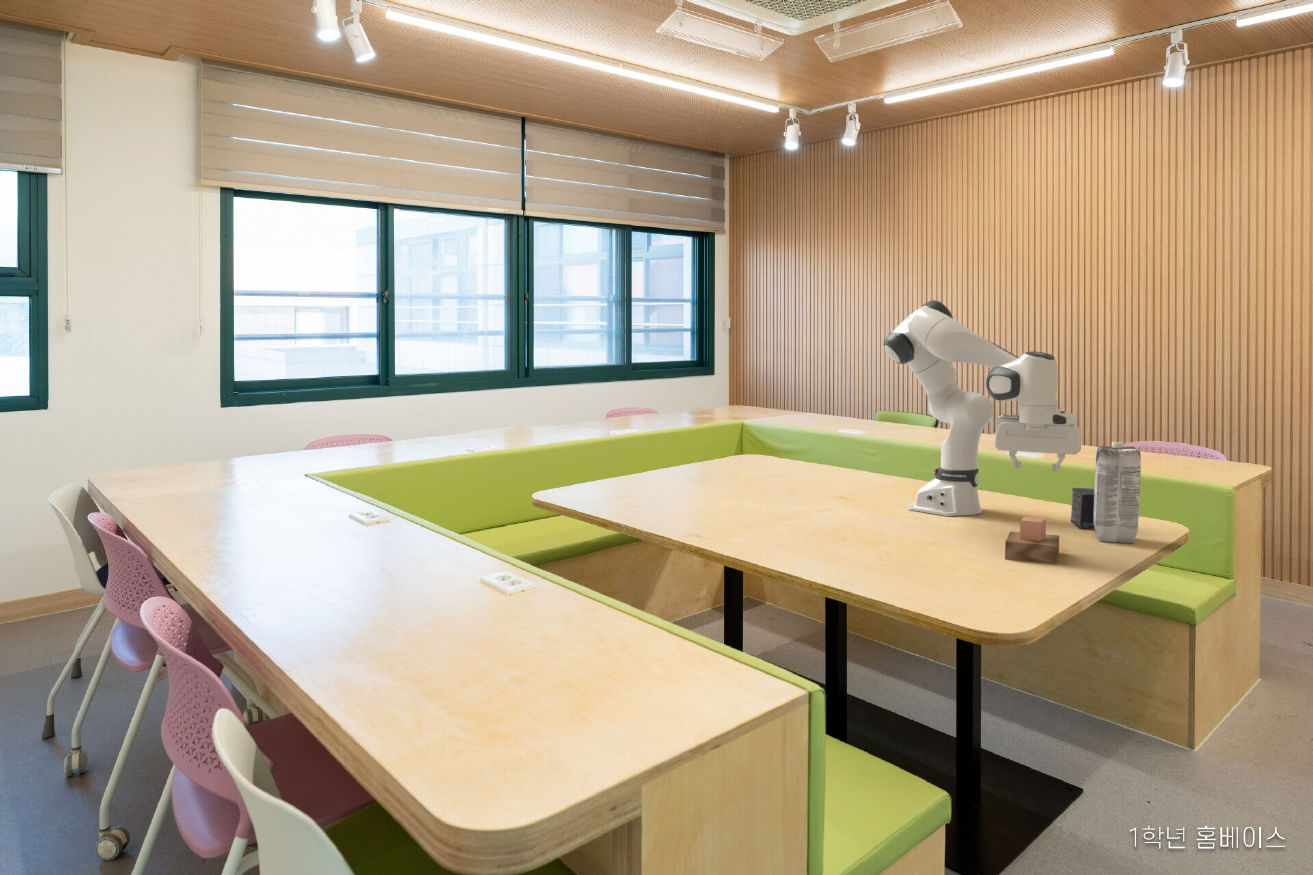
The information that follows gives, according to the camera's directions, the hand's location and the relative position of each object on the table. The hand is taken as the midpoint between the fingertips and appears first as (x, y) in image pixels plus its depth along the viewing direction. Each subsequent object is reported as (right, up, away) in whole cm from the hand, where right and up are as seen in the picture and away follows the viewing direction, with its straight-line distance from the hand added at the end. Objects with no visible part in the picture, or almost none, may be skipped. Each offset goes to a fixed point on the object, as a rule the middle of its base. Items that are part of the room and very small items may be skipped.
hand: (1036, 469), depth 221 cm
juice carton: (+29, -20, +17) cm, 39 cm away
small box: (+30, -18, +34) cm, 49 cm away
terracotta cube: (0, -18, +2) cm, 18 cm away
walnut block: (0, -23, +3) cm, 23 cm away
